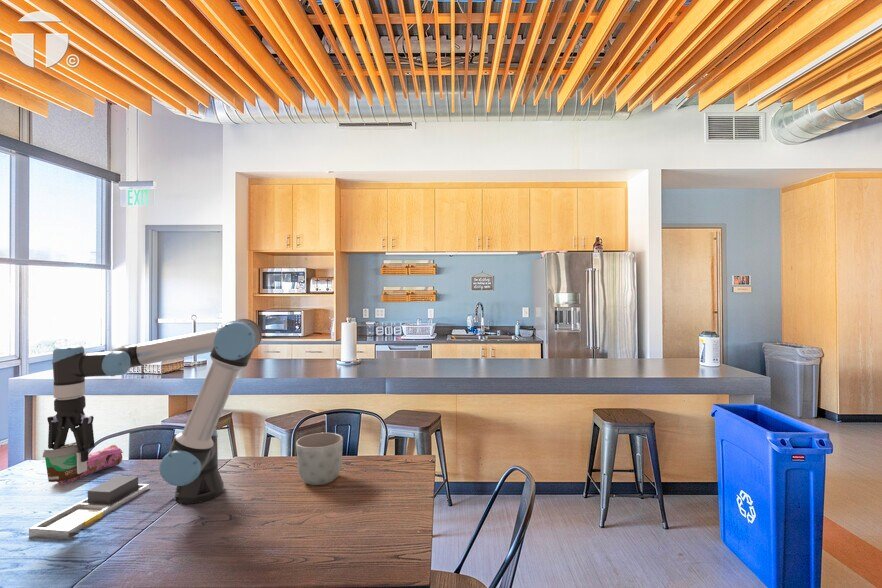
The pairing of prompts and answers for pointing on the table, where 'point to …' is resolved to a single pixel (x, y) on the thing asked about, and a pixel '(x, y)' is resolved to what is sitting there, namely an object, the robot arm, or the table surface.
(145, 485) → the rack
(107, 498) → the grey rectangular box
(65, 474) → the food container
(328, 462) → the planter
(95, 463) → the pencil case
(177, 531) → the table surface
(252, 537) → the table surface
